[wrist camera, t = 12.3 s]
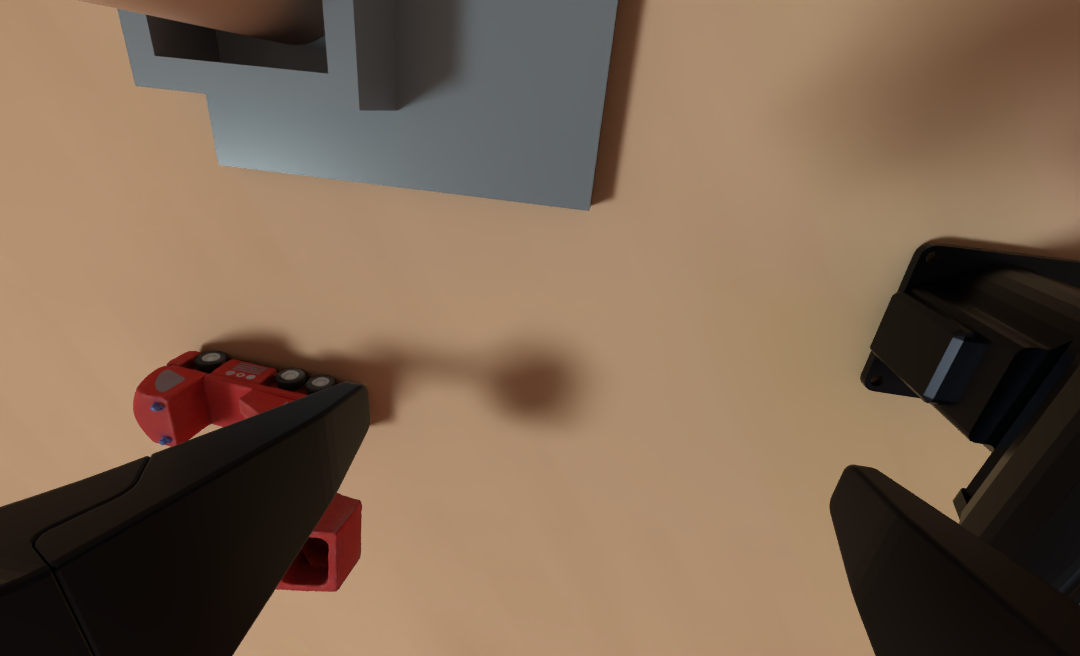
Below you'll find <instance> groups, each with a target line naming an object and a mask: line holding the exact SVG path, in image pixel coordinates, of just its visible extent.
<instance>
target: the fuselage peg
mask: <svg viewBox="0 0 1080 656" xmlns="http://www.w3.org/2000/svg"><path fill="white" fill-rule="evenodd" d="M80 1H84V2H89V3H94V4H98V5H103V6H108V7H113V8H117V9H122V10H127V11H132V12H136V13H141V14H146V15H151V16H155V17H160V18H165V19H170V20H174V21H179V22H184V23H189V24H193V25H198V26H203V27H208V28H212V29H217V30H222V31H227V32H231V33H236V34H241V35H246V36H250V37H255V38H260V39H264V40H269V41H274V42H279V43H283V44H289V45H303V44H308V43H311V42H313V41H315V40H317V39H319V38H320V37H321V36H323V35H324V34H325V27H324V15H323V3H322V0H80Z"/></svg>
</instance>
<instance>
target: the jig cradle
mask: <svg viewBox="0 0 1080 656" xmlns="http://www.w3.org/2000/svg"><path fill="white" fill-rule="evenodd" d="M618 2H619V0H322V3H323V15H324V27H325V34H324V35H323V36H321V37H320V38H319V39H317V40H315V41H313V42H311V43H308V44H303V45H289V44H283V43H279V42H274V41H269V40H264V39H260V38H255V37H250V36H246V35H241V34H236V33H231V32H227V31H222V30H217V29H212V28H208V27H203V26H198V25H193V24H189V23H184V22H179V21H174V20H170V19H165V18H160V17H155V16H151V15H146V14H141V13H136V12H132V11H127V10H122V9H118V14H119V18H120V22H121V26H122V31H123V35H124V39H125V43H126V48H127V52H128V56H129V60H130V65H131V69H132V73H133V77H134V82H135V86H140V87H149V88H158V89H168V90H177V91H186V92H195V93H204V94H206V98H207V104H208V109H209V115H210V120H211V126H212V131H213V137H214V143H215V148H216V154H217V159H218V165H224V166H232V167H240V168H248V169H256V170H264V171H272V172H280V173H288V174H296V175H305V176H313V177H321V178H329V179H337V180H345V181H353V182H361V183H369V184H377V185H385V186H393V187H401V188H409V189H417V190H425V191H433V192H442V193H450V194H458V195H466V196H474V197H482V198H490V199H498V200H506V201H514V202H522V203H530V204H538V205H546V206H554V207H562V208H570V209H579V210H587V211H589V210H590V206H591V199H592V191H593V184H594V177H595V169H596V162H597V155H598V147H599V140H600V133H601V126H602V118H603V111H604V104H605V96H606V89H607V82H608V75H609V67H610V60H611V53H612V45H613V38H614V31H615V23H616V16H617V9H618Z"/></svg>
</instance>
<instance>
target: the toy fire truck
mask: <svg viewBox="0 0 1080 656" xmlns="http://www.w3.org/2000/svg"><path fill="white" fill-rule="evenodd" d="M305 381H306V377H305V373H304V372H303V371H302V370H300V369H297V368H288V369H285V370H282V371H280V372H278V371H277V370H276V369H274V368H269V367H265V366H261V365H257V364H251V363H250V362H244V361H239V360H233V359H231V360H230V361H228V362H227V356H226V355H225V354H224V353H222V352H219V351H209V352H206V353H203V354H201V353H200V352H197V351H188V352H186V353H184V354H182V355H180V356H178V357H177V358H175V359H173V360H171V361H170V362H168V363H167V366H163V367H160V368H158V369H156V370H155V371H153V372H152V373H151V374H149V375H148V376H147V377H146V378H145V379H144V380H143V381H142V382H141V383H140V384H139V386H138V387H137V389H136V392H135V396H134V401H133V410H134V415H135V418H136V420H137V422H138V424H139V426H140V427H141V428H142V430H143V431H144V432H145V433H146V435H147V436H148V437H149V438H150V439H151V440H152V441H154V442H156V443H159V444H161V445H168V446H171V447H172V446H175V445H178V444H180V443H183V442H186V441H188V440H189V439H191V438H192V437H193V436H194V435H196V434H197V433H198V432H200V431H201V430H202V429H204V428H205V427H206V426H208V425H210V424H215V425H218V426H222V427H225V426H228V425H231V424H233V423H236V422H239V421H241V420H244V419H247V418H249V417H252V416H255V415H257V414H260V413H263V412H265V411H268V410H271V409H273V408H276V407H279V406H281V405H284V404H287V403H289V402H292V401H294V400H297V399H300V398H302V397H305V396H308V395H310V394H313V393H316V392H318V391H321V390H324V389H326V388H329V387H332V386H334V385H335V380H334V379H333V378H332V377H330V376H326V375H317V376H315V377H312V378H310V379H309V380H308V381H307V382H306V385H304V383H305ZM361 510H362V504H361V501H360V500H357V499H353V498H350V497H347V496H343V495H341V494H339V493H336V495H335V497H334V498H333V500H332V502H331V503H330V505H329V506H328V508H327V510H326V511H325V513H324V514H323V516H322V517H321V519H320V521H319V522H318V524H317V525H316V527H315V528H314V530H313V531H312V533H311V534H310V536H309V538H308V539H307V541H306V542H305V544H304V545H303V547H302V548H301V550H300V552H299V553H298V555H297V556H296V558H295V559H294V561H293V562H292V564H291V566H290V567H289V569H288V570H287V572H286V573H285V575H284V576H283V578H282V579H281V581H280V583H279V584H278V586H277V587H276V589H278V590H279V589H281V590H293V591H294V590H298V591H300V590H301V591H328V592H331V591H332V592H333V591H337V590H338V589H339V588H340V586H341V585H342V584H343V582H344V581H345V579H346V578H347V576H348V575H349V573H350V572H351V570H352V569H353V567H354V566H355V565H356V563H357V562H358V560H359V559H360V555H361V516H362V515H361Z"/></svg>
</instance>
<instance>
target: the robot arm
mask: <svg viewBox="0 0 1080 656" xmlns="http://www.w3.org/2000/svg"><path fill="white" fill-rule="evenodd" d="M932 252H935V256H934V258H933V259H932V260H930V261H927V262H926V257H927V256H928V254H930V253H932ZM870 349H871V350H872V351H871V353H870V355H869V358H868V360H867V362H866V364H865V367H864V369H863V371H862V374H861V377H860V380H861V382H862V383H863V385H864V386H865V387H866V388H867V389H868V390H871V391H876V392H882V393H889V394H896V395H902V396H909V397H916V398H921V399H922V400H923V401H924V402H926V403H930V404H931V405H932V406H934V407H935V408H936V409H937V410H938V411H939V412H940V413H941V414H942V415H943V416H944V417H945V418H946V419H947V420H949V421H950V422H951V423H952V424H953V425H954V426H955V427H956V428H957V429H958V430H959V431H960V432H961V433H962V434H964V435H965V436H966V437H967V438H968V439H969V440H970V441H972V442H974V443H980V444H983V445H984V446H985V447H986V448H987V449H988V450H989V451H991V452H992V454H991V455H990V456H989V458H988V459H987V460H986V462H985V463H984V465H983V466H982V467H981V469H980V470H979V472H978V473H977V474H976V476H975V477H974V479H973V480H972V481H971V483H970V484H969V485H968V487H967V488H966V489H965V488H962V489H961V490H960V491H959V492H958V494H957V495H956V497H955V498H954V499H953V503H954V506H955V508H956V511H957V514H958V516H959V519H960V522H959V524H958V523H956V522H955V521H953V520H952V519H950V518H949V517H947V516H946V515H944V514H943V513H941V512H940V511H938V510H937V509H935V508H934V507H932V506H931V505H929V504H928V503H926V502H925V501H923V500H922V499H920V498H919V497H917V496H916V495H914V494H913V493H911V492H910V491H908V490H907V489H905V488H904V487H902V486H901V485H899V484H898V483H896V482H895V481H893V480H892V479H890V478H889V477H887V476H886V475H884V474H883V473H881V472H880V471H878V470H877V469H874V468H871V467H865V466H859V465H849V466H847V467H846V468H845V469H844V471H843V473H842V475H841V477H840V479H839V481H838V484H837V486H836V488H835V490H834V492H833V494H832V497H831V500H830V514H831V517H832V521H833V525H834V529H835V532H836V536H837V540H838V544H839V547H840V551H841V555H842V559H843V562H844V566H845V570H846V574H847V577H848V581H849V584H850V588H851V591H852V594H853V597H854V600H855V603H856V605H857V608H858V611H859V614H860V616H861V619H862V621H863V624H864V627H865V629H866V632H867V635H868V637H869V640H870V642H871V645H872V648H873V650H874V653H875V655H876V656H1080V261H1078V260H1069V259H1061V258H1053V257H1045V256H1037V255H1028V254H1020V253H1012V252H1004V251H996V250H988V249H979V248H971V247H963V246H955V245H947V244H938V243H926V244H924V245H922V246H920V247H919V248H918V249H917V250H916V251H915V253H914V254H913V257H912V259H911V261H910V264H909V266H908V268H907V271H906V273H905V275H904V277H903V280H902V282H901V284H900V287H899V289H898V291H897V293H895V294H894V295H893V296H892V298H891V300H890V302H889V305H888V307H887V309H886V312H885V314H884V316H883V319H882V321H881V323H880V325H879V328H878V330H877V332H876V335H875V337H874V339H873V342H872V344H871V346H870ZM876 376H879V378H878V380H876V381H873V382H871V380H872V378H874V377H876ZM369 424H370V413H369V398H368V390H367V387H366V386H365V385H363V384H358V383H352V382H342V383H340V384H337V385H334V386H332V387H329V388H326V389H324V390H321V391H318V392H316V393H313V394H310V395H308V396H305V397H302V398H300V399H297V400H294V401H292V402H289V403H287V404H284V405H281V406H279V407H276V408H273V409H271V410H268V411H265V412H263V413H260V414H257V415H255V416H252V417H249V418H247V419H244V420H241V421H239V422H236V423H233V424H231V425H228V426H225V427H223V428H220V429H217V430H215V431H212V432H209V433H207V434H204V435H202V436H199V437H196V438H194V439H191V440H188V441H186V442H183V443H180V444H178V445H175V446H172V447H170V448H167V449H164V450H162V451H159V452H156V453H154V454H152V455H151V457H149V456H145V457H143V458H140V459H137V460H135V461H132V462H130V463H127V464H124V465H122V466H119V467H116V468H113V469H111V470H108V471H105V472H102V473H100V474H97V475H94V476H91V477H89V478H86V479H83V480H80V481H77V482H74V483H71V484H68V485H65V486H62V487H59V488H56V489H53V490H50V491H47V492H44V493H41V494H39V495H36V496H33V497H30V498H26V499H23V500H20V501H17V502H14V503H11V504H8V505H5V506H2V507H0V656H232V655H233V654H234V652H235V651H236V649H237V648H238V646H239V645H240V643H241V642H242V640H243V638H244V637H245V635H246V634H247V632H248V631H249V629H250V628H251V626H252V624H253V623H254V621H255V620H256V618H257V617H258V615H259V614H260V612H261V610H262V609H263V607H264V606H265V604H266V603H267V601H268V600H269V598H270V597H271V595H272V593H273V592H274V590H275V589H276V587H277V586H278V584H279V583H280V581H281V579H282V578H283V576H284V575H285V573H286V572H287V570H288V569H289V567H290V566H291V564H292V562H293V561H294V559H295V558H296V556H297V555H298V553H299V552H300V550H301V548H302V547H303V545H304V544H305V542H306V541H307V539H308V538H309V536H310V534H311V533H312V531H313V530H314V528H315V527H316V525H317V524H318V522H319V521H320V519H321V517H322V516H323V514H324V513H325V511H326V510H327V508H328V506H329V505H330V503H331V502H332V500H333V498H334V497H335V495H336V493H337V491H338V489H339V487H340V485H341V483H342V481H343V479H344V477H345V475H346V473H347V471H348V469H349V467H350V465H351V463H352V461H353V459H354V457H355V455H356V453H357V451H358V449H359V447H360V445H361V443H362V441H363V439H364V437H365V435H366V433H367V431H368V428H369Z"/></svg>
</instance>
